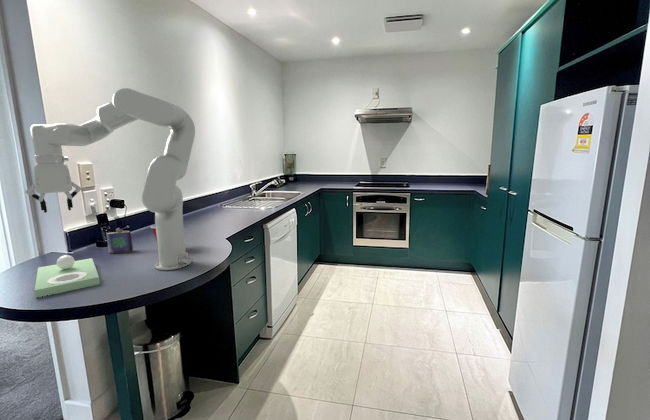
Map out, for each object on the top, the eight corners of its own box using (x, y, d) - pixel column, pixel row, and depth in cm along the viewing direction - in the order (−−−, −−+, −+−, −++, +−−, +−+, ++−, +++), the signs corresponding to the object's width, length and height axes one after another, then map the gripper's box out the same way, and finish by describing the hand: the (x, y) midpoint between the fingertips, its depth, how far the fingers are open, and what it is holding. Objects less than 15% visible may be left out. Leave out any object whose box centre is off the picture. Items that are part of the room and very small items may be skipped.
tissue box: (39, 274, 118) (37, 267, 117) (92, 264, 128) (92, 257, 127) (36, 298, 98) (34, 289, 97) (100, 284, 108) (98, 276, 107)
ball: (78, 267, 117) (76, 254, 116) (63, 272, 112) (61, 258, 111) (69, 265, 118) (67, 252, 118) (54, 270, 114) (52, 256, 113)
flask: (108, 253, 141) (104, 229, 139) (110, 252, 144) (107, 228, 142) (132, 251, 144) (129, 228, 142) (133, 249, 146) (131, 226, 145)
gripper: (79, 160, 123) (86, 207, 126) (17, 161, 112) (26, 212, 115) (81, 160, 117) (88, 209, 120) (15, 161, 106) (25, 215, 109)
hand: (57, 210), depth 117 cm, fingers open, 6 cm apart
